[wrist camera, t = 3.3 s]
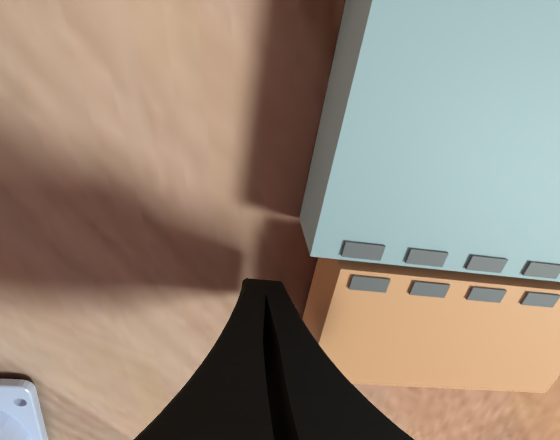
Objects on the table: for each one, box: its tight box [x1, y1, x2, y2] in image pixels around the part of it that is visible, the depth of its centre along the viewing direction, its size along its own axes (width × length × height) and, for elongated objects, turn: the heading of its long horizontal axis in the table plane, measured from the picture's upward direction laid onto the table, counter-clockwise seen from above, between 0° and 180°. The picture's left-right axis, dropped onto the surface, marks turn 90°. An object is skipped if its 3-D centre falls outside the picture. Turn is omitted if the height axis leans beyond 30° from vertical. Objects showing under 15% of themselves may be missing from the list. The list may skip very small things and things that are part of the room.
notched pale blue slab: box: [299, 0, 560, 282], centre depth 10 cm, size 8×13×3 cm, turn 80°
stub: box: [302, 257, 560, 393], centre depth 12 cm, size 5×10×2 cm, turn 80°
